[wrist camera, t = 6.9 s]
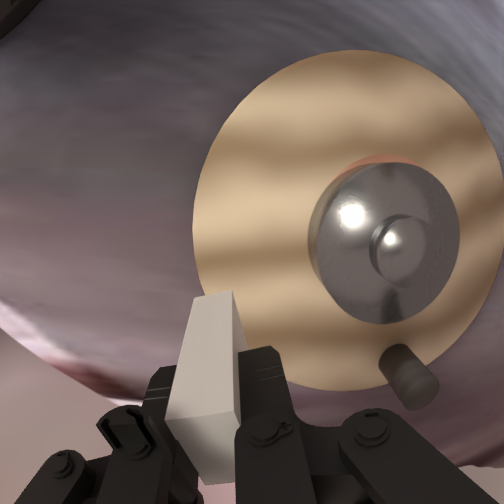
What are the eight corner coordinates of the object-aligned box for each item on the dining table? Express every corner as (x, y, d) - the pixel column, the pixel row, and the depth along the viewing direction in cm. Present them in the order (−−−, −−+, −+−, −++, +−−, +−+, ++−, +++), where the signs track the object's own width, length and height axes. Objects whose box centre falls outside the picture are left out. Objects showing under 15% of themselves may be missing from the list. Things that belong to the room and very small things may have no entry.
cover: (292, 177, 19) (309, 179, 15) (426, 154, 19) (465, 153, 15) (320, 321, 22) (338, 355, 17) (438, 285, 22) (472, 306, 17)
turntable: (159, 92, 19) (127, 61, 12) (465, 61, 19) (516, 43, 12) (245, 406, 26) (249, 466, 19) (488, 325, 26) (529, 355, 19)
